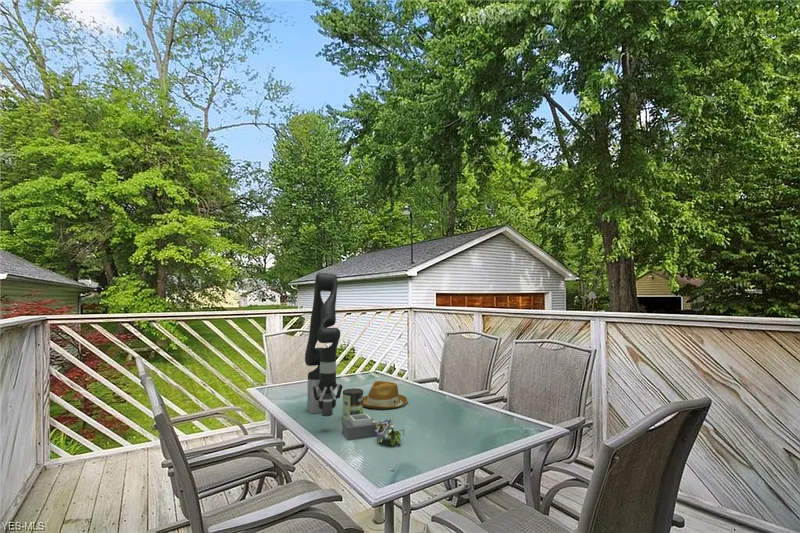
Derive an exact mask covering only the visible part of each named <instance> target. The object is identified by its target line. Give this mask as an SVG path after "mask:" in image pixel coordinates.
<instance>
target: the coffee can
mask: <svg viewBox="0 0 800 533" xmlns="http://www.w3.org/2000/svg"><path fill="white" fill-rule="evenodd" d="M363 397H364V389H361V388H354V387H353V388H345V389H344V390H343V389H342V421H347V420H349V415H357V414H364V413H363V412H364V406H363Z"/></svg>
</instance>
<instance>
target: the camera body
mask: <svg viewBox="0 0 800 533" xmlns="http://www.w3.org/2000/svg"><path fill="white" fill-rule="evenodd" d="M341 423H342V426H341V428H342V430H341V431H342V432H341V433H342V434H343V435H344V437H345V438H346V440H347V441H350V440H357V439H358V440H359V439H364V438H365V439H366V438H373V437H377V434H376V431H375V430H376V426H377V424H378V423H379V422H377V420H375V418H373V417H370V416H369V415H368V413H363V414H357V415H349V420H347V421H343V420H342V422H341Z"/></svg>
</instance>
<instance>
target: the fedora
mask: <svg viewBox="0 0 800 533" xmlns="http://www.w3.org/2000/svg"><path fill="white" fill-rule="evenodd" d="M400 400H401V401H402V402H403V403H402V405H400V406H396V405H398V404H399V403H400V402H401V401H400ZM407 402H408V398H407V397H406V396H405V395H402V394H399V388H398V384H397V383H396V382H392V381H385V380H384V381H383V380H377V381H374V382H372V385H371V388H370V389H369V392H368V395H365V396H363V407H365V408H369V409H374V410H387V409H395V408H400V407H402V406H404V405H406V404H407Z"/></svg>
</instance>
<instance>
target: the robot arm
mask: <svg viewBox="0 0 800 533" xmlns="http://www.w3.org/2000/svg"><path fill="white" fill-rule="evenodd" d="M321 292H330V294H329V296H328V298H327V299H326V300H325V302H324V300H323V299H322V295H321ZM337 293H338V276H337V275H336V274H335V273H327V272H317V273H316V276H315V280H314V290H313V303H312V310H311V316H310V323H309V331H308V332H309V333H308V340H307V344H306V349H305V354H304V362H305V365H306V366H308V367H313V366H316V367H315V368H314V369H313V370H311V371H310V372H309V371H308V374H307V393H306V394H307V395H306V396H307V401H306V403H307V404H306V412H307V413H309V414H320V413H321V409H322V398H323V396H324V394H325V393H332V396H333V409H335V407H336V406H337V399H340V398H341V394H342V392H343V385H342V384H341V383H340V384H338V383H337V348H338V345H339V341H340V338H341V331H340V329H339V328H338V327H333V326H334V325H336V323H337V317H336V316H337V314H336V304H337ZM318 342H319V343H320V344H325V343H326V344H331V345H330V346H327V347H316V346H317V343H318ZM336 389H337V391H336V394H335V390H336Z"/></svg>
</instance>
